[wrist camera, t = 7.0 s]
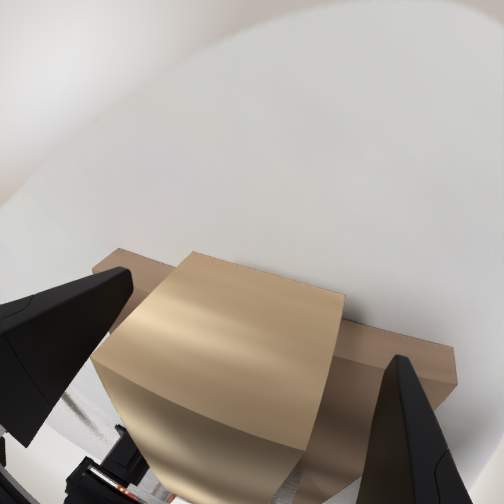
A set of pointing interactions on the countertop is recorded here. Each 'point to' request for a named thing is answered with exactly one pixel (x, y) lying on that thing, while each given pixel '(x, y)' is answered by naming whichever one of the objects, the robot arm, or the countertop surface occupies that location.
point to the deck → (329, 385)
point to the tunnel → (157, 495)
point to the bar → (222, 377)
